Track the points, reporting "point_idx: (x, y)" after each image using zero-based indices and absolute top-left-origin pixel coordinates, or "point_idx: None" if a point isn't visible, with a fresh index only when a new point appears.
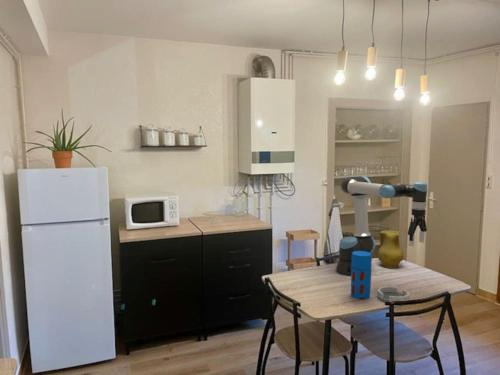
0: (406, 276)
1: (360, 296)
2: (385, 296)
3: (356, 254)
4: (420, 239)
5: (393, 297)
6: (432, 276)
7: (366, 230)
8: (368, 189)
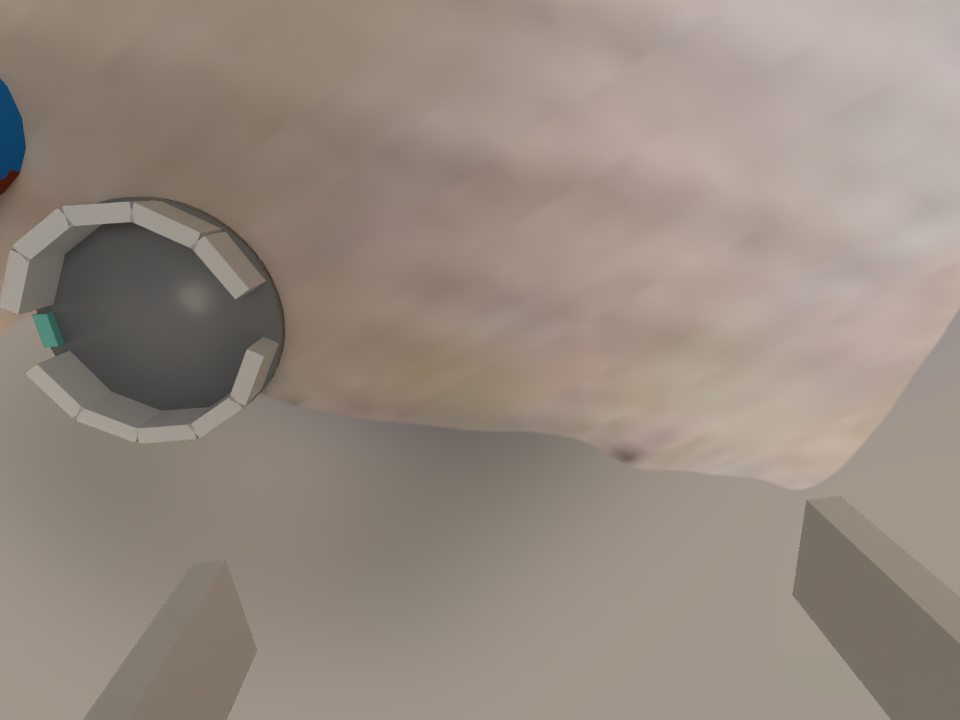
0: (739, 73)
1: None
2: (107, 282)
3: None
4: (853, 578)
5: (51, 394)
6: (900, 231)
7: None
8: None
